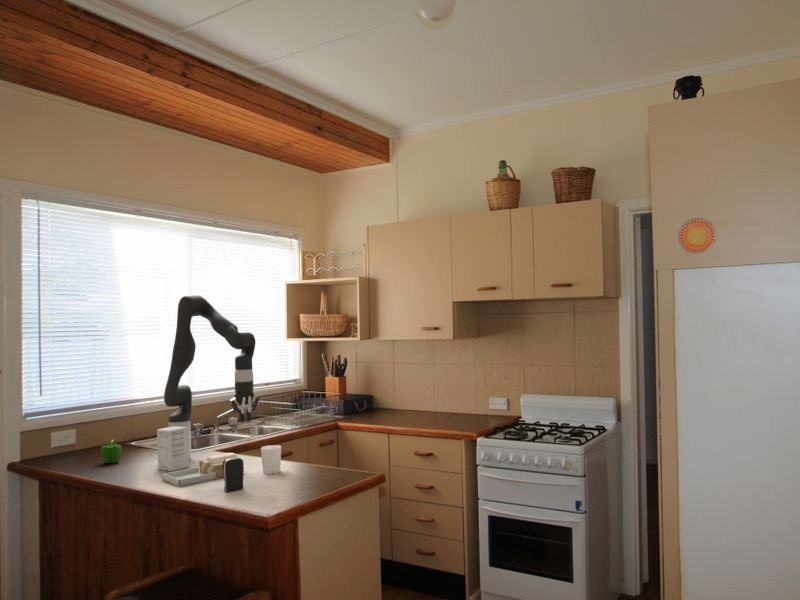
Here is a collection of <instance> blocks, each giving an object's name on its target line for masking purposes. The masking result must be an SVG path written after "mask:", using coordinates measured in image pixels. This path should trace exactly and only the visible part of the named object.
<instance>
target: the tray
mask: <svg viewBox="0 0 800 600" xmlns="http://www.w3.org/2000/svg"><path fill="white" fill-rule="evenodd" d="M161 479H162V481H163V480H165V481H164V482H166V481H167V482H166V483H168V482H169V483H168V484H170V485H173V484H174V485H173V486H176V485H177V486H176V487H178V486H181V487H184V486H188V485H189V486H190V485H195V484H199V482H200V483H205V482H208V481H213V479H214V480H217V479H216V473H215V472H214V473H209V474H204V473H201V472H200V466H196V467H191V468H184V469H178V470H174V471H169V472H163V473H162V478H161ZM204 481H205V482H204ZM194 483H195V484H194Z"/></svg>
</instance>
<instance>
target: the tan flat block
mask: <svg viewBox="0 0 800 600" xmlns="http://www.w3.org/2000/svg"><path fill="white" fill-rule="evenodd" d="M244 463H245V462H244V461H243V472H245V468H244ZM222 467H223V462H219V463H213V464H212V463H209V462H207V458H206V459H202V460H201V459H200V460H199V472H201V473H204V474H209V473H214V472H215V473H216V478H217V479H221V477H222V478H224V474H223V471H222Z"/></svg>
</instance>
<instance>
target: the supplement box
mask: <svg viewBox="0 0 800 600" xmlns="http://www.w3.org/2000/svg"><path fill="white" fill-rule="evenodd" d="M156 431H157V432H156V434H157V435H156V441H157V443H156V444H157V470H161V469H162V470H163V471H167V470H168V471H169V472H174V471H179V470H183V469H187V468H189V467H190V459H189V435H188V427H179V426H173V427H169V426H168V427H163V428H159V429H156ZM162 470H161V471H162ZM168 471H167V472H168Z"/></svg>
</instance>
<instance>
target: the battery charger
mask: <svg viewBox="0 0 800 600" xmlns="http://www.w3.org/2000/svg"><path fill="white" fill-rule="evenodd" d="M243 462H244V460H243V459H242V458H241V457H237V458H230V459H226V460H224V461H223V467H222V471H223V474H224V477H223V480H224V481H223V482H224V487H223V488H224V490H223V491H224V492H225V493H230V492H236V491H240V490H243V489H244V473H243Z"/></svg>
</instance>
